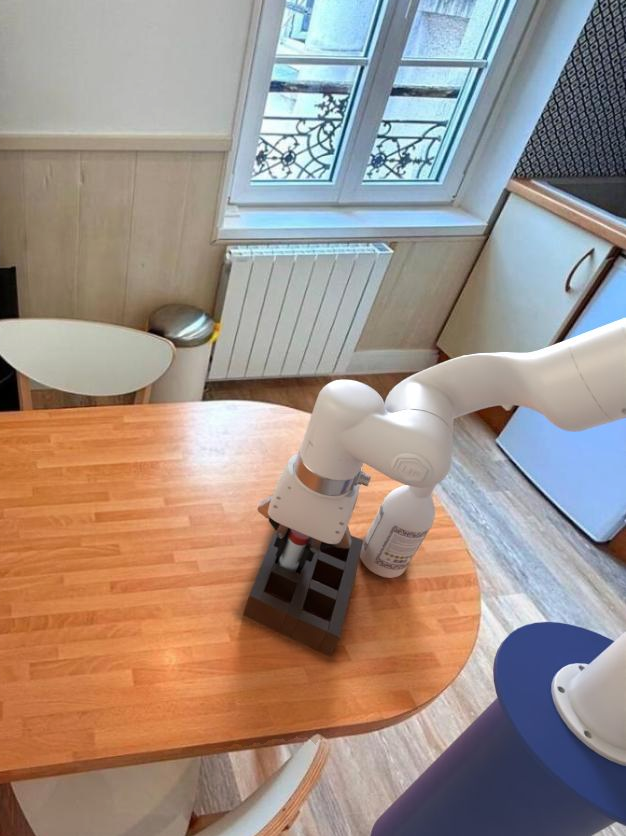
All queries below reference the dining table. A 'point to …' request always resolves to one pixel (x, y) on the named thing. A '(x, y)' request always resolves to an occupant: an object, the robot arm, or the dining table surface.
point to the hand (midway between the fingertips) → (291, 554)
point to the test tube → (293, 550)
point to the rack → (306, 595)
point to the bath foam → (398, 530)
